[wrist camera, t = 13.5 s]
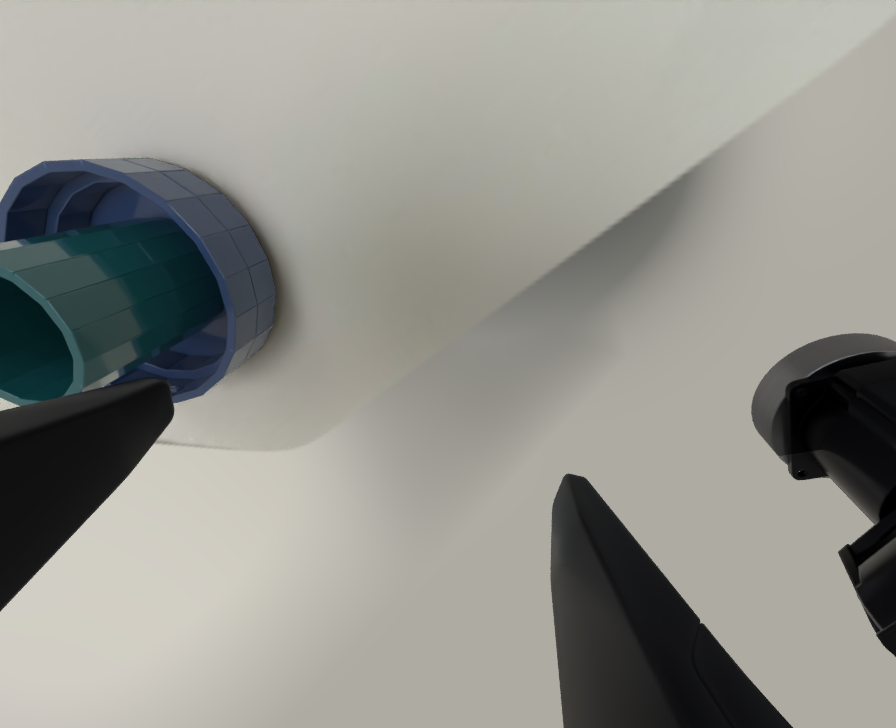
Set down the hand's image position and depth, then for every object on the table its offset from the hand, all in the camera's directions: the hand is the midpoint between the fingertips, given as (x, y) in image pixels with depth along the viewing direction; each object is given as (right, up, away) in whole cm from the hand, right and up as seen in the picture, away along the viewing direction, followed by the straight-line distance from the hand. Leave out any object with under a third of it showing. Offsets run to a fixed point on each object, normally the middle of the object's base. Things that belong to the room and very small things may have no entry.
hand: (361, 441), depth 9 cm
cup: (-12, +6, +12) cm, 18 cm away
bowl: (-12, +6, +12) cm, 18 cm away
